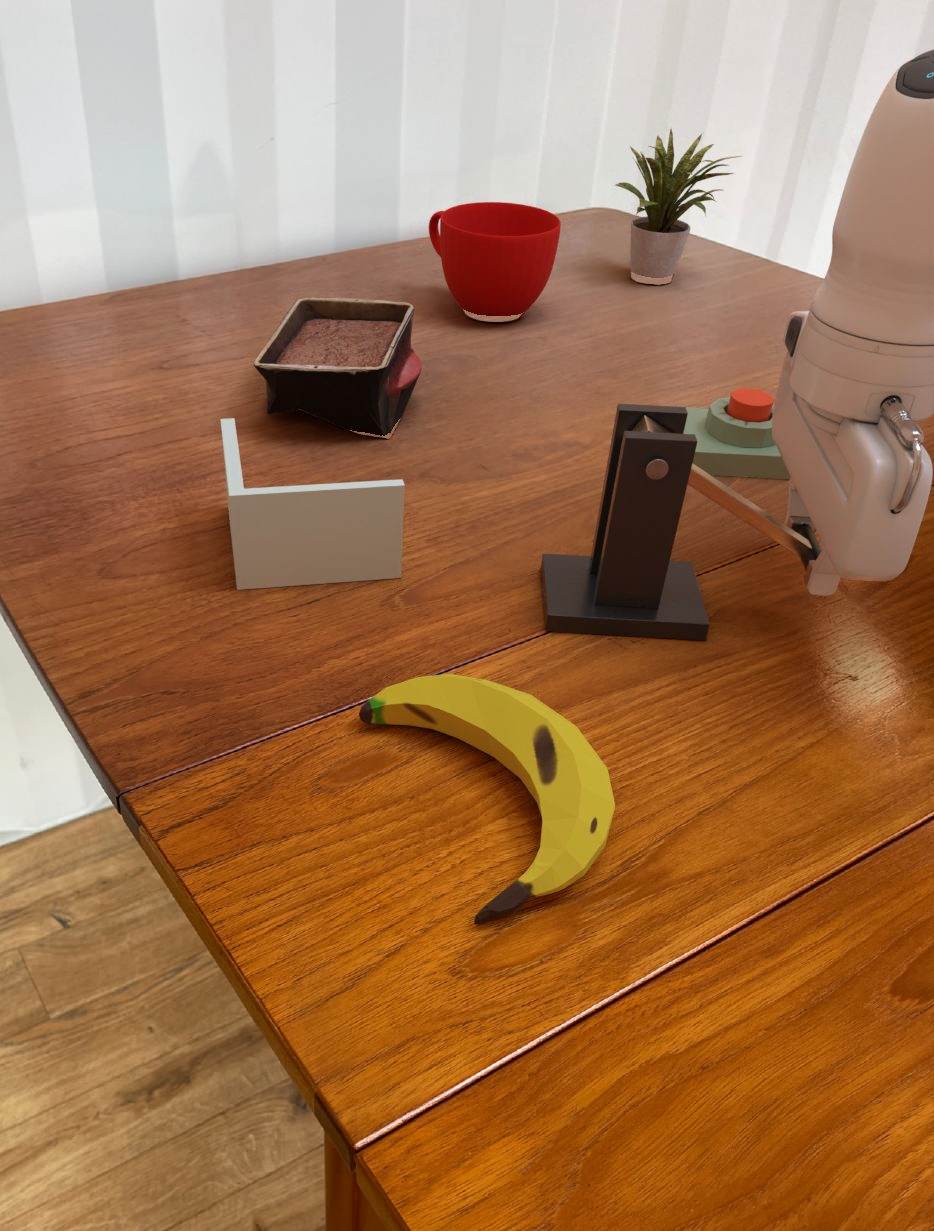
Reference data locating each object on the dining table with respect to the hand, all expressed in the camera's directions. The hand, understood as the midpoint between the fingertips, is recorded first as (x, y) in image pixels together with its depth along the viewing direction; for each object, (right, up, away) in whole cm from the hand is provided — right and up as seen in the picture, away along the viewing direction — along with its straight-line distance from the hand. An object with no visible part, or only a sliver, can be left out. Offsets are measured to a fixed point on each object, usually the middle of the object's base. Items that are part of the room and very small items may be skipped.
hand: (806, 563), depth 72 cm
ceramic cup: (-18, +37, +48) cm, 63 cm away
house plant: (+3, +43, +56) cm, 71 cm away
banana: (-25, -16, -12) cm, 32 cm away
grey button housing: (+2, +13, +22) cm, 25 cm away
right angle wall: (-35, +3, +9) cm, 36 cm away
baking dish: (-33, +19, +27) cm, 47 cm away
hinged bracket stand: (-12, -2, +3) cm, 13 cm away
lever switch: (-7, +3, -2) cm, 8 cm away
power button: (+3, +16, +19) cm, 25 cm away
